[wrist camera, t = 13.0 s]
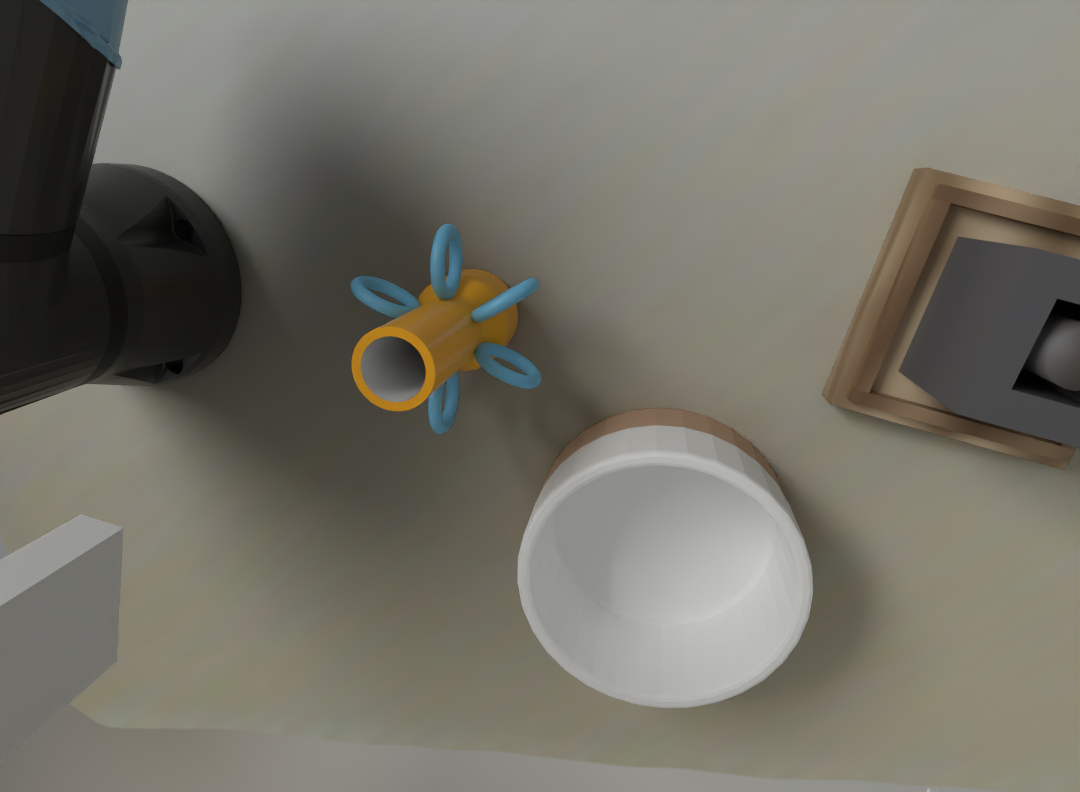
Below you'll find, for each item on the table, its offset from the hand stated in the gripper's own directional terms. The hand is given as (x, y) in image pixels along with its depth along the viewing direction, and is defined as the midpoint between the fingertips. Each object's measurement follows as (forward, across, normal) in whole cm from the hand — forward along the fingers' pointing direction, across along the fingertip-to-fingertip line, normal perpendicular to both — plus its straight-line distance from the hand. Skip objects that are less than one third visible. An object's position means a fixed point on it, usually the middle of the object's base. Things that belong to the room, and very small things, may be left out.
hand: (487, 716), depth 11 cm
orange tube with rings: (+35, -9, -2) cm, 36 cm away
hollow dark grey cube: (+33, +21, +6) cm, 39 cm away
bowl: (+35, +7, -13) cm, 38 cm away
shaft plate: (+35, +21, +6) cm, 41 cm away
